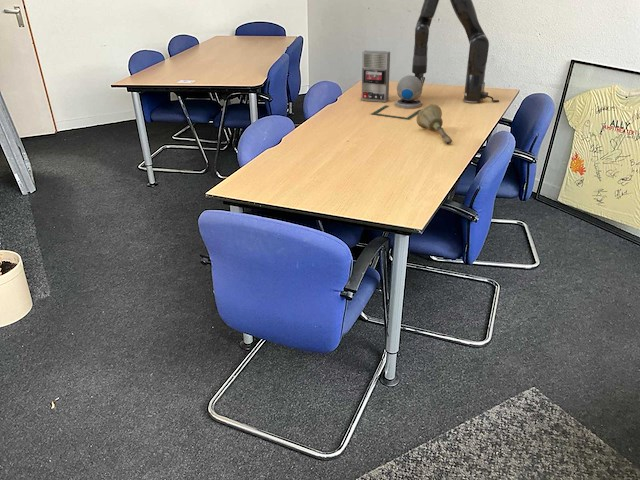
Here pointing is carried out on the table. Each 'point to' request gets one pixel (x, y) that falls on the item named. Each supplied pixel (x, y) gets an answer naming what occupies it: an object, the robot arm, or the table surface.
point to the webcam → (409, 92)
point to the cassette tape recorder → (375, 75)
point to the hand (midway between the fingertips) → (417, 96)
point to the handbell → (432, 120)
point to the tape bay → (394, 116)
